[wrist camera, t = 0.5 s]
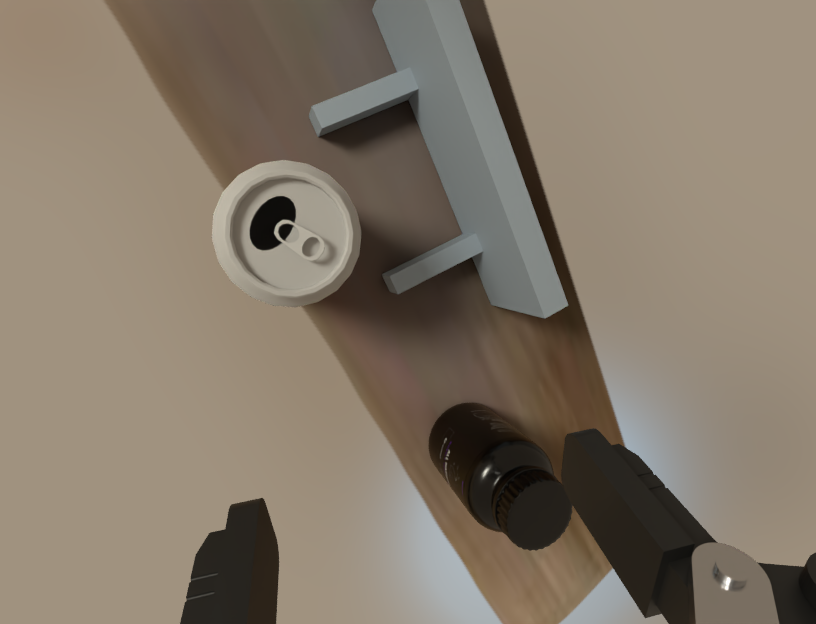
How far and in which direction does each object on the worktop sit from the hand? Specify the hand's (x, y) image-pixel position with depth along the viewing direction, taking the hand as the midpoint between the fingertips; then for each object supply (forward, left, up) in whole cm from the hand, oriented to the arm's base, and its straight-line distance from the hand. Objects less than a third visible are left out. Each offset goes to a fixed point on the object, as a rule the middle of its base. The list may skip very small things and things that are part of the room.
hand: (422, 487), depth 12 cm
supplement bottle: (+14, +7, -25) cm, 29 cm away
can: (-7, +1, -25) cm, 26 cm away
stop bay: (-7, +12, -24) cm, 28 cm away
